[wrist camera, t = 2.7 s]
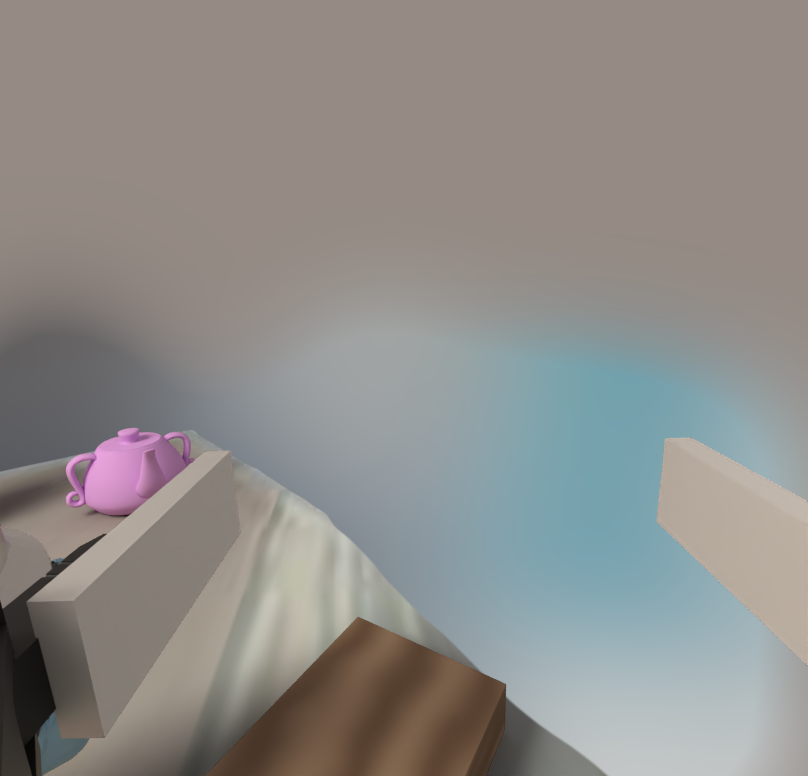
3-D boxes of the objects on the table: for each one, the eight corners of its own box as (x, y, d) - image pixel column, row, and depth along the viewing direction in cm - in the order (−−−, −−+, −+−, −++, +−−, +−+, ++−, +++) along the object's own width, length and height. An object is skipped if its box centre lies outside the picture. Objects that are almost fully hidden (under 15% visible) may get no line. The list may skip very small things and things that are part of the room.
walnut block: (214, 827, 34) (205, 775, 32) (360, 656, 48) (358, 616, 47) (395, 999, 25) (392, 938, 24) (504, 730, 40) (506, 684, 39)
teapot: (89, 552, 69) (71, 468, 66) (60, 506, 84) (44, 435, 80) (228, 500, 84) (219, 430, 81) (183, 469, 99) (174, 408, 96)
